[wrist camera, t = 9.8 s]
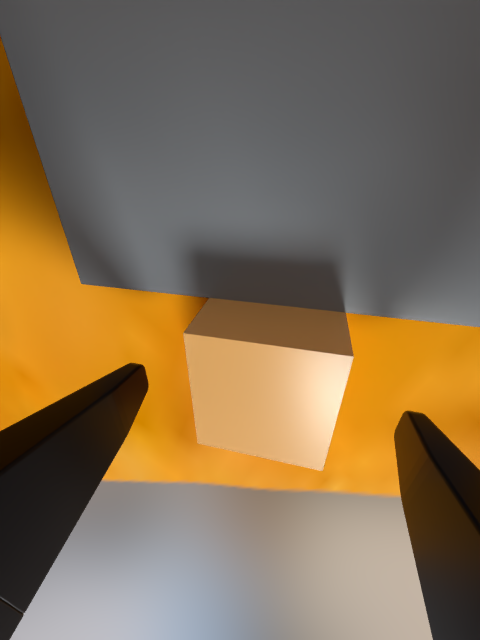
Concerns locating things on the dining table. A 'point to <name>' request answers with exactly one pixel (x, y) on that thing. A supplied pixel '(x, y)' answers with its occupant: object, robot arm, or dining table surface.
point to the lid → (263, 181)
